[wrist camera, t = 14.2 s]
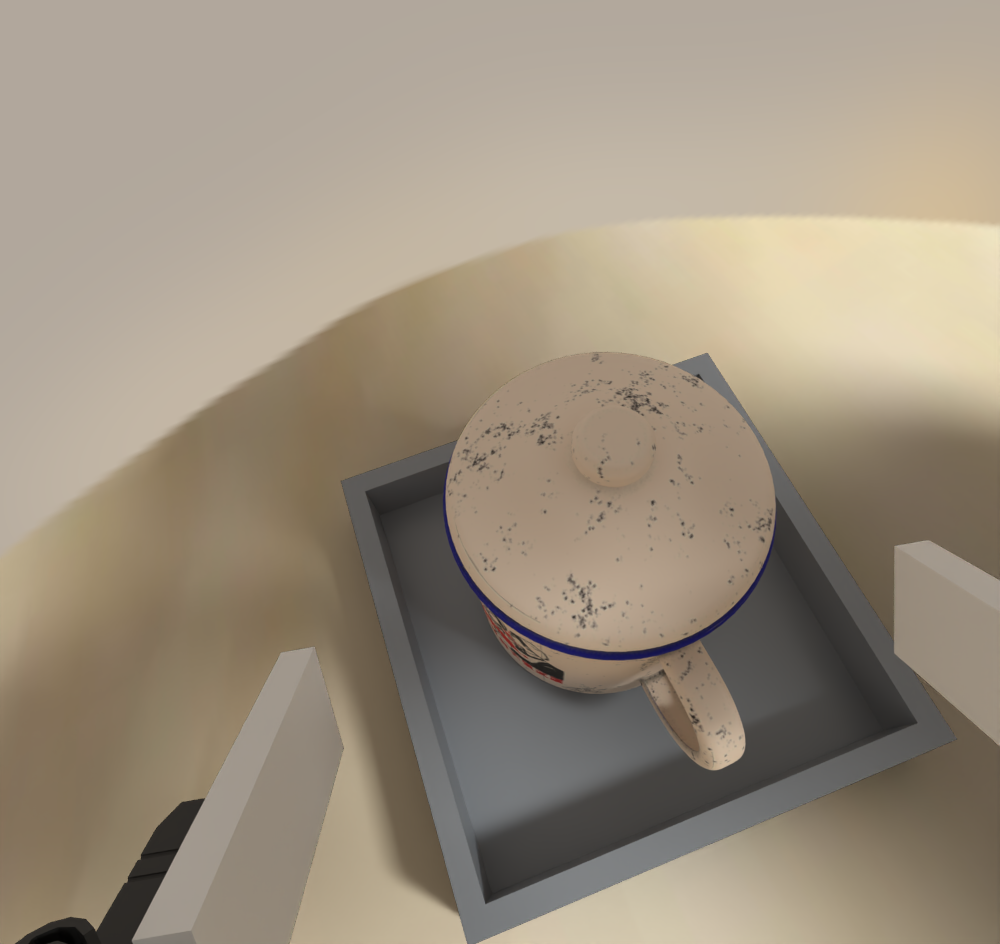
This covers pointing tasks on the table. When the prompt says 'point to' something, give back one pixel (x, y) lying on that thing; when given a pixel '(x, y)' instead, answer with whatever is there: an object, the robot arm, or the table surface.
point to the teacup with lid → (615, 532)
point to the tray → (621, 709)
